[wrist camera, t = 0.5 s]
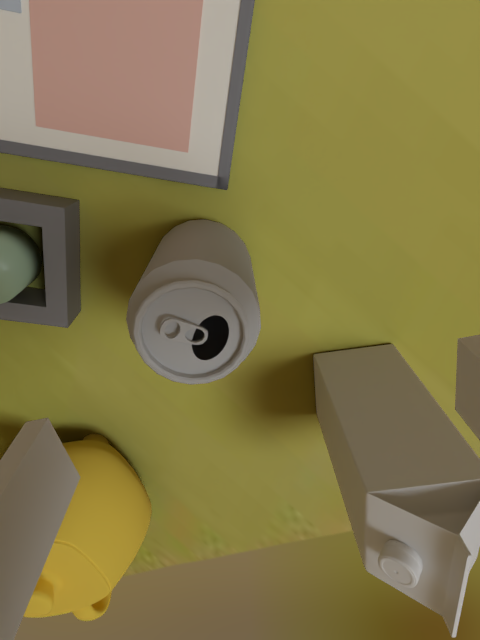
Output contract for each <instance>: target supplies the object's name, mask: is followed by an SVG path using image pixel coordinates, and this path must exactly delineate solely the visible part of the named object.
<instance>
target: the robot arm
mask: <svg viewBox="0 0 480 640" xmlns="http://www.w3.org/2000/svg"><path fill="white" fill-rule="evenodd" d="M455 410H456V411H457V412H458V414H459V415H460V416H461V417H462V419H463V420H464V421H465V422H466V424H467V425H468V426H469V427H470V429H471V430H472V431H473V432H474V434H475V435H476V436H477V438H478V439H479V440H480V335H475V336H470V337H465V338H459V339H458V348H457V373H456V399H455ZM79 480H80V475H79V473H78V472H77V470H76V468H75V466H74V464H73V462H72V461H71V459H70V457H69V455H68V453H67V452H66V450H65V448H64V446H63V444H62V442H61V441H60V439H59V437H58V435H57V433H56V431H55V430H54V428H53V426H52V424H51V422H50V420H49V419H48V418H44V419H39V420H34V421H29V422H25V424H24V425H23V427H22V428H21V430H20V431H19V433H18V434H17V436H16V437H15V439H14V440H13V442H12V443H11V445H10V446H9V448H8V449H7V451H6V452H5V454H4V455H3V457H2V458H1V460H0V640H14V638H15V635H16V633H17V630H18V628H19V626H20V623H21V621H22V618H23V616H24V613H25V611H26V608H27V606H28V604H29V601H30V599H31V596H32V594H33V591H34V589H35V587H36V584H37V582H38V579H39V577H40V574H41V572H42V570H43V567H44V565H45V562H46V560H47V557H48V555H49V553H50V550H51V548H52V545H53V543H54V540H55V538H56V536H57V533H58V531H59V528H60V526H61V523H62V521H63V519H64V516H65V514H66V511H67V509H68V506H69V504H70V502H71V499H72V497H73V494H74V492H75V489H76V487H77V485H78V482H79Z"/></svg>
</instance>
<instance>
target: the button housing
mask: <svg viewBox="0 0 480 640" xmlns="http://www.w3.org/2000/svg"><path fill="white" fill-rule="evenodd" d="M0 221H5V222H12V223H18V224H25V225H32V226H38V227H42V236H43V255H44V273H45V290H44V289H37V288H29V287H26V288H25V289H23V290H22V291H21V292H20V293H18V294H17V295H16V296H15V297H14V298H12V299H11V300H10V301H8V302H6V303H2V304H0V319H2V320H10V321H18V322H26V323H34V324H42V325H50V326H58V327H66V328H68V327H69V325H70V324H71V323H72V322H73V320H74V319H75V318H76V316H77V315H78V314H79V312H80V311H81V300H80V219H79V200H75V199H69V198H62V197H56V196H50V195H43V194H37V193H31V192H24V191H18V190H12V189H5V188H0Z"/></svg>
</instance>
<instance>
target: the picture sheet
mask: <svg viewBox="0 0 480 640" xmlns="http://www.w3.org/2000/svg"><path fill="white" fill-rule="evenodd" d="M254 1H255V0H0V152H1V153H7V154H13V155H19V156H25V157H31V158H37V159H43V160H49V161H55V162H61V163H67V164H73V165H79V166H85V167H92V168H98V169H104V170H110V171H116V172H122V173H128V174H134V175H140V176H146V177H152V178H158V179H164V180H170V181H176V182H182V183H188V184H194V185H200V186H206V187H212V188H218V189H224V190H227V188H228V181H229V174H230V167H231V160H232V153H233V147H234V140H235V133H236V126H237V119H238V112H239V105H240V98H241V91H242V84H243V77H244V71H245V64H246V57H247V50H248V43H249V36H250V29H251V22H252V15H253V8H254Z"/></svg>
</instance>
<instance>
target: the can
mask: <svg viewBox="0 0 480 640" xmlns="http://www.w3.org/2000/svg"><path fill="white" fill-rule="evenodd" d="M126 320H127V324H128V329H129V334H130V338H131V339H132V341H133V343H134V344H135V347H136V349H137V351H138V353H139V354H140V356H141V357H142V359H143V361H144V362H145V363H146V364H147V365H148V366H149V367H150V368H151V369H153V370H154V371H155V372H156V373H157V374H159V375H161V376H163V377H165V378H167V379H170V380H172V381H175V382H180V383H186V384H202V383H209V382H212V381H215V380H218V379H221V378H223V377H225V376H226V375H228V374H229V373H231V372H232V371H233V370H235V369H236V368H237V367H238V366H239V364H240V363H241V362H242V361H244V360H245V359H246V357H247V356H248V355H249V353H250V352H251V350H252V349H253V348H254V346H255V345H256V341H257V338H258V335H259V332H260V328H261V324H260V308H259V302H258V297H257V291H256V286H255V280H254V275H253V269H252V264H251V259H250V255H249V253H248V250H247V248H246V246H245V243H244V242H243V241H242V240H241V239H240V237H239V236H238V235H237V234H236V233H235V232H234V231H233V230H231V229H230V228H228V227H226V226H225V225H223V224H221V223H218V222H214V221H210V220H206V219H204V220H191V221H187V222H185V223H182V224H180V225H178V226H175V227H174V228H173V229H172V230H170V231H169V232H168V233H167V234H166V235H165V236H164V237H163V238H162V240H161V242H160V244H159V246H158V247H157V249H156V251H155V253H154V255H153V257H152V258H151V260H150V262H149V264H148V266H147V268H146V270H145V271H144V273H143V275H142V277H141V279H140V281H139V283H138V284H137V286H136V288H135V290H134V292H133V294H132V296H131V297H130V299H129V304H128V311H127V318H126Z"/></svg>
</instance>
